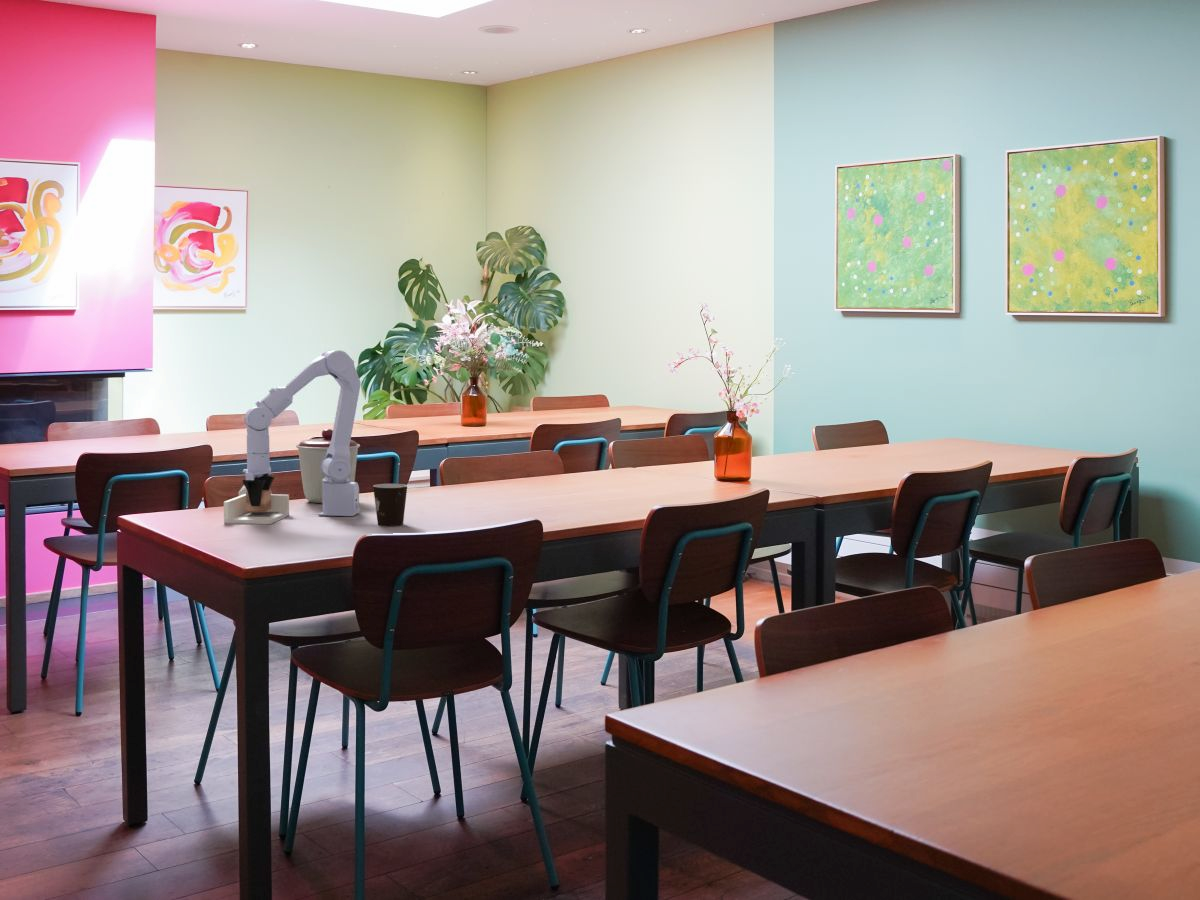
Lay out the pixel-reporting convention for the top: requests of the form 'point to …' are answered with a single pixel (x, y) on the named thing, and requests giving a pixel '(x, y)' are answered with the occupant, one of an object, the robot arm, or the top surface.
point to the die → (243, 491)
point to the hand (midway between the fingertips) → (259, 504)
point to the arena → (239, 515)
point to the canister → (319, 464)
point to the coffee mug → (390, 503)
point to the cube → (264, 504)
